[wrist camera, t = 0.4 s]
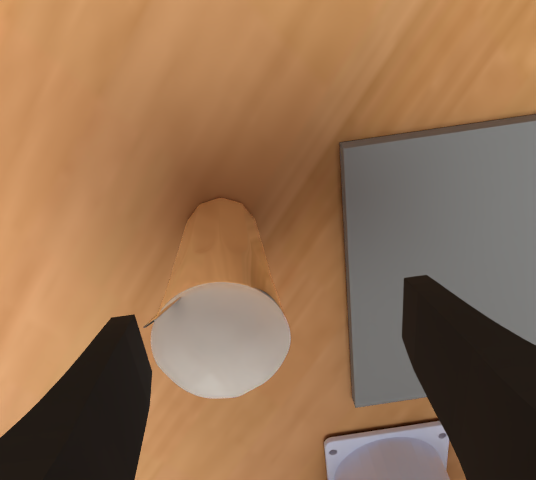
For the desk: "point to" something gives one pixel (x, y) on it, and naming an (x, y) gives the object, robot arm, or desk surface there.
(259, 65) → the desk surface
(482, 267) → the mat
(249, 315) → the milkshake
